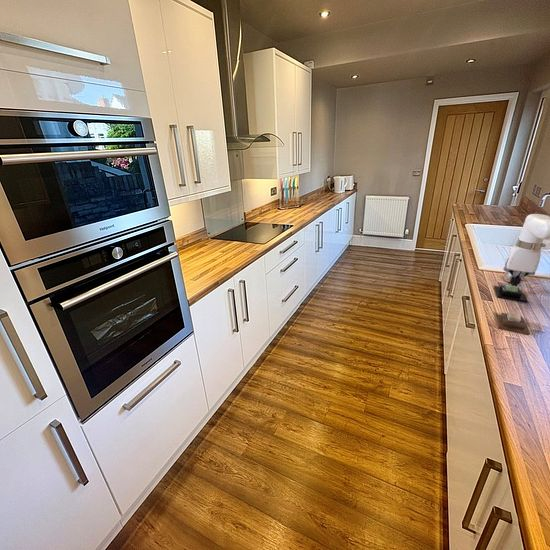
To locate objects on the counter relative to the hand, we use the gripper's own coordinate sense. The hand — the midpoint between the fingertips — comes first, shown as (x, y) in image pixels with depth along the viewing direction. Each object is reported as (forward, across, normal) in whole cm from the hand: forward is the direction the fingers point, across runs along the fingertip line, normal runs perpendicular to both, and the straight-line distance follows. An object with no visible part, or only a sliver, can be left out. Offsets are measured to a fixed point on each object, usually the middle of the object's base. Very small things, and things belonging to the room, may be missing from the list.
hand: (513, 284), depth 126 cm
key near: (+3, +4, +27) cm, 27 cm away
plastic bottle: (+6, -3, -16) cm, 18 cm away
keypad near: (+6, +4, +27) cm, 27 cm away
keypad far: (+6, 0, 0) cm, 6 cm away
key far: (+3, 0, 0) cm, 3 cm away
